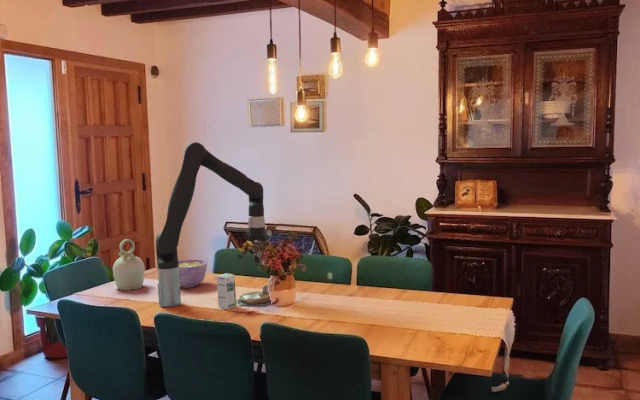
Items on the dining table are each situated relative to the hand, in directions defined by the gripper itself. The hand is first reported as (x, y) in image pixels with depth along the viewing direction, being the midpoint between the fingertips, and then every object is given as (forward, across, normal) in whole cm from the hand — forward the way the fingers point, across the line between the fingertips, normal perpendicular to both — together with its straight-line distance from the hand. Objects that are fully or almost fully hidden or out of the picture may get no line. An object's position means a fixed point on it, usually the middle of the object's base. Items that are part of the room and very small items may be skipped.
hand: (258, 262), depth 278 cm
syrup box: (+17, -13, -13) cm, 25 cm away
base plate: (+16, 0, -5) cm, 17 cm away
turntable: (+16, 0, -5) cm, 17 cm away
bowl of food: (+17, -38, +28) cm, 50 cm away
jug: (+17, -68, +29) cm, 76 cm away
